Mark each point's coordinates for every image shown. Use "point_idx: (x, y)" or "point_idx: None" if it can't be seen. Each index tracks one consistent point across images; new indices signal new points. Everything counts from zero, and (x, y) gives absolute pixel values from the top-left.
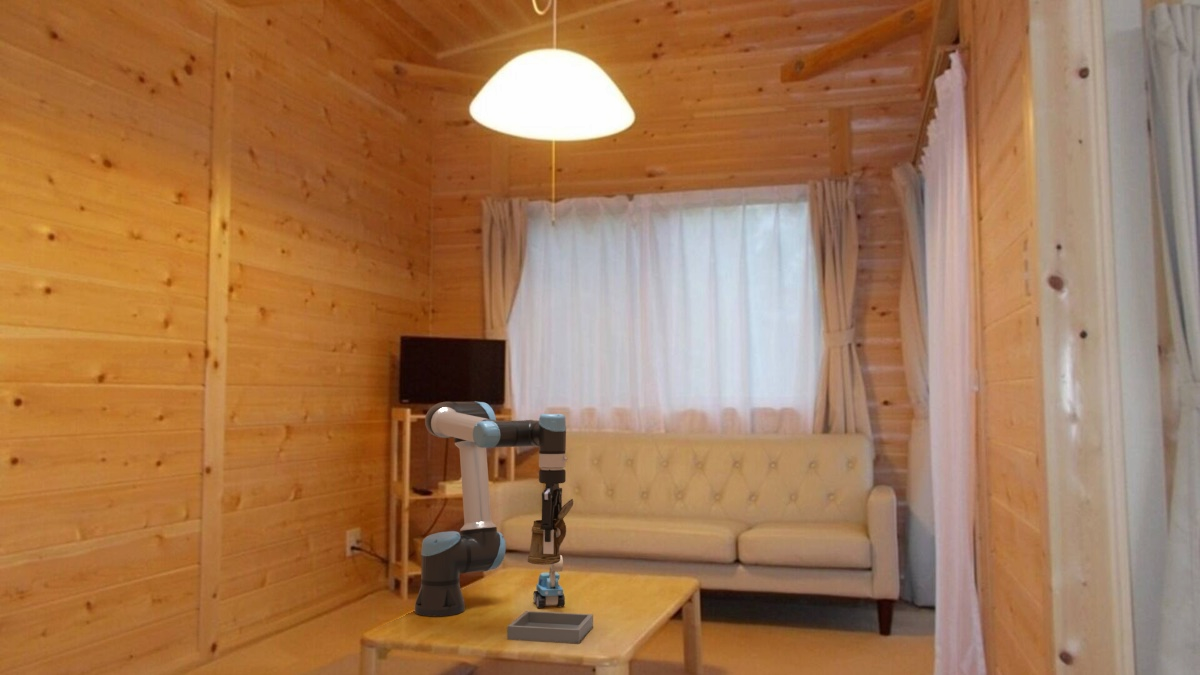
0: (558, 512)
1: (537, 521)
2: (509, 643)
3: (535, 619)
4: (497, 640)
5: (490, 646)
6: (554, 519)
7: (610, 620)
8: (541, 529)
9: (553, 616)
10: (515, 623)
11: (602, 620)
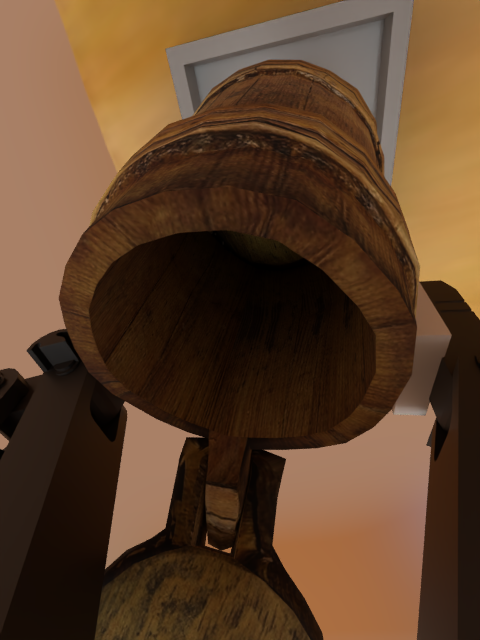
0: (421, 620)
1: (275, 227)
2: (150, 86)
3: (384, 53)
4: (156, 21)
5: (96, 39)
6: (205, 493)
7: (452, 265)
8: (56, 340)
9: (379, 134)
10: (212, 57)
11: (452, 247)
